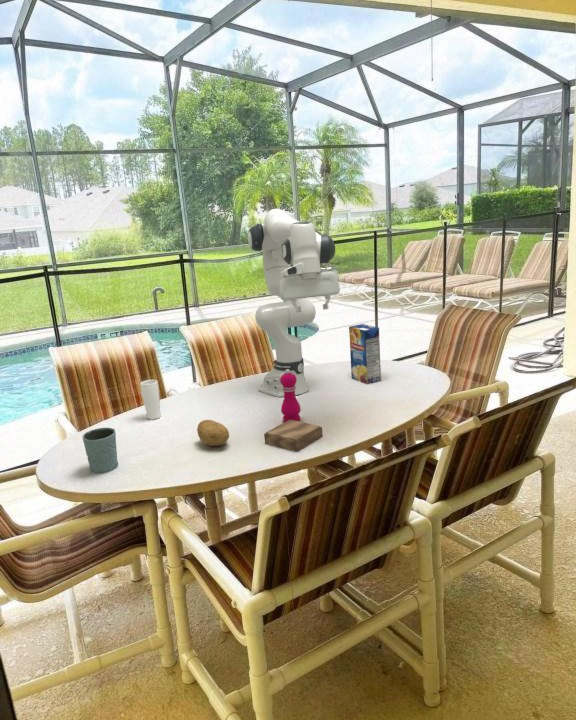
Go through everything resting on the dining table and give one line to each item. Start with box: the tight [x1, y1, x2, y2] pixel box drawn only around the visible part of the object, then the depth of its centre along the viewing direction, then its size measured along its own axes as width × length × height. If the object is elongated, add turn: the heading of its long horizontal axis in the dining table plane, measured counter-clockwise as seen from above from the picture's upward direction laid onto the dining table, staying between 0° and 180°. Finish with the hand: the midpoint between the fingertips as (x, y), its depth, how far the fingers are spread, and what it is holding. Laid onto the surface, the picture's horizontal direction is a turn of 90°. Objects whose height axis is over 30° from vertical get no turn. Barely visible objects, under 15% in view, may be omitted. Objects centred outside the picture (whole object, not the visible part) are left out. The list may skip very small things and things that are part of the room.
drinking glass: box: [140, 379, 161, 421], centre depth 221 cm, size 7×7×15 cm
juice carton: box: [348, 323, 382, 385], centre depth 246 cm, size 12×8×24 cm, turn 28°
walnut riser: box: [263, 420, 323, 453], centre depth 190 cm, size 14×14×4 cm
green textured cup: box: [82, 427, 119, 475], centre depth 179 cm, size 10×10×12 cm
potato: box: [196, 419, 230, 447], centre depth 191 cm, size 10×14×8 cm
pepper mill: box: [280, 369, 301, 423], centre depth 205 cm, size 7×7×20 cm
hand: (312, 310), depth 186 cm, fingers open, 8 cm apart
